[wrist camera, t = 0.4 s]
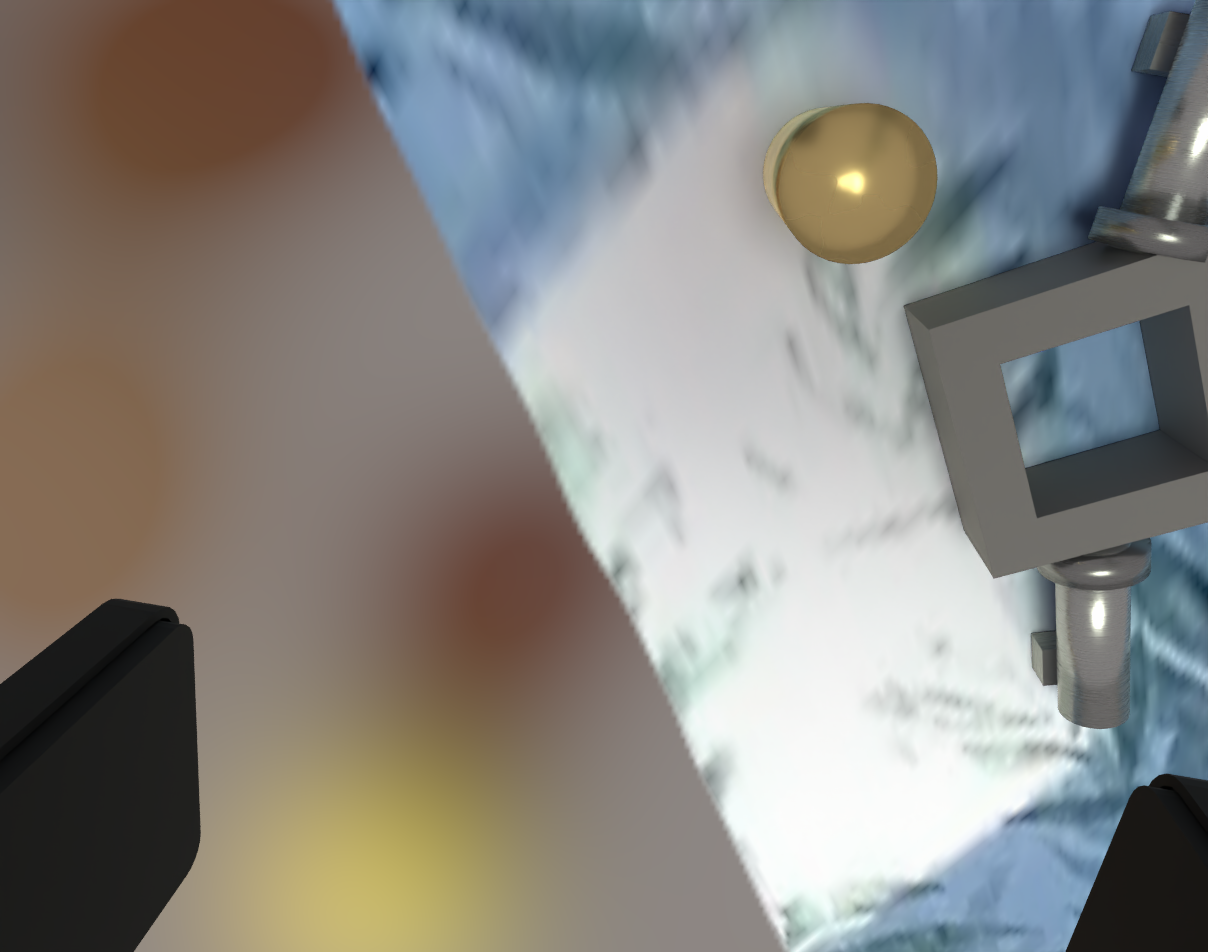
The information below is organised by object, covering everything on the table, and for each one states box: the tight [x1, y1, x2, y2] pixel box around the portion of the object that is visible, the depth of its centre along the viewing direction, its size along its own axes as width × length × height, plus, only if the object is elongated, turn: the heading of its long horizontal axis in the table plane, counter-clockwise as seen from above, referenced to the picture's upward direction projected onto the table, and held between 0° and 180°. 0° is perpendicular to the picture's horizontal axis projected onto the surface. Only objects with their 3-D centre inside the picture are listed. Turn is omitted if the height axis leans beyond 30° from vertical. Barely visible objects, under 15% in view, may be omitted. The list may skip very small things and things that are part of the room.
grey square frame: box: [904, 220, 1208, 578], centre depth 31 cm, size 9×9×4 cm
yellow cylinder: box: [763, 103, 937, 264], centre depth 28 cm, size 4×4×8 cm
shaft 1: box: [1088, 0, 1208, 263], centre depth 28 cm, size 7×4×4 cm, turn 171°
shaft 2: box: [1031, 538, 1151, 729], centre depth 34 cm, size 7×4×4 cm, turn 11°
